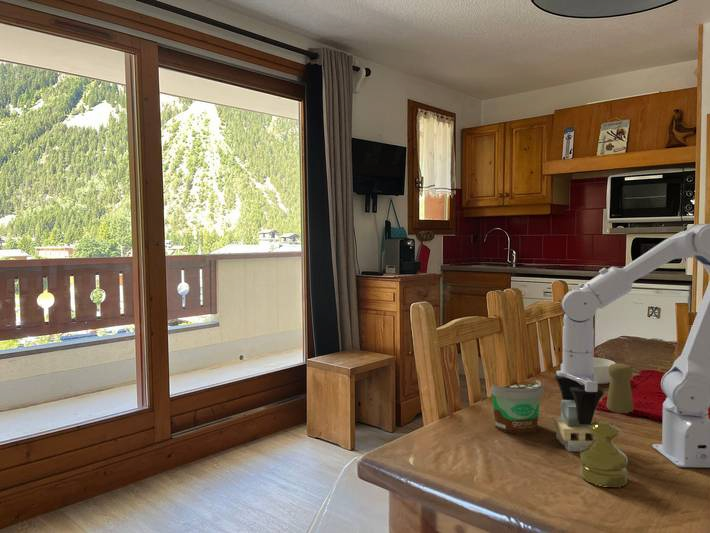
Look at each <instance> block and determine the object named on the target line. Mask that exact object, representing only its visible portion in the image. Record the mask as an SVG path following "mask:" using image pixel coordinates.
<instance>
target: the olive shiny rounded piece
mask: <svg viewBox="0 0 710 533" xmlns="http://www.w3.org/2000/svg"><path fill="white" fill-rule="evenodd" d="M588 430H589V431H590V432H591V433H592V434H593V435H594V436H595V440H594V441H593V442H592V443H590V444H589V445H588V446H585V447H584V448H582V449H581V451H579V455H580V459H581V461H580V463H579V466H580V470H579V471H580V476H581V478H582V479H583V480H584V479H585V480H586V482H587V481H589V482H591V483H593V484H597V485H601V486H607V487H619V488H622V487H621V486H623V487H624V485H625V486H626V485H627V484H626V483H628V469H627V468H626V467H627V466H628V462H629V460H628V456H627V454H625V453H624V452H623V451H622V450H620V448H618V446H616V445H615V443H613V440H614V438H616V437H618V436H619V435H620V433H621V431H620V428H618V426H615V425H614V424H612V423H610V422H609V421H606V420H598V421H594V422H593V423H592V424H590V425H588ZM585 480H584V481H585ZM589 482H588V483H589ZM591 483H590V484H591ZM593 484H592V485H593Z"/></svg>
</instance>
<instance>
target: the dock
mask: <svg viewBox="0 0 710 533" xmlns="http://www.w3.org/2000/svg"><path fill="white" fill-rule="evenodd" d="M555 432H556V431H555ZM555 436H556V439H557V440H558V442H559V443H560V444H561V445H562V444H563V445H564V446H565V447H564V446H563V445H562V446H563V447H564V448H565V450H567V452H580V451H581V449H582V448H584V447H585V446H588V445H589V444H590V443H592V442H593V440H592V439H591V438H590V437H589V436H588V435H587V434H586V433H585V441H579V440H578V439H577V438H576V437H575V436H574V435H573V434H572V433H571V441H564V440H563V439H562V438H561V436H560V435H559V434H558V433H557V432H556V434H555Z"/></svg>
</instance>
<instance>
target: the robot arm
mask: <svg viewBox="0 0 710 533" xmlns="http://www.w3.org/2000/svg"><path fill="white" fill-rule="evenodd" d="M691 258H694V259H695V260H697V261H698V262H699V263H700V264H701V265H702V267H703V268H704V270H705V271H706V272H707V274H708V275H709V276H710V223H706V224H705V223H697V224H693V225H691V226H689V227H688V228H687V229H686V230H683V231H680V232H677V233H675V234H674V235H671V236H669V237H668V238H666V239H664V240H662V241H661V242H659V243H658V244H656V245H655V246H653V247H652V248H650V249H649V250H648V251H646V252H644V253H643V254H642V255H640V256H639V257H637V258H636V259H634V260H632V261H631V262H630V263H628V264H626V265H625V266H624V267H622V268H621V267H616V266H611V267H608V268H607V267H603V268H601V269H600V270H598V273H599V274H598V275H596V276H595V277H593V278H592V279H590V280H588V281H586V282H585V283H584V282H581V283H579V284H578V285H577V287H578V288H579V289H573V290H570V291H568V292H567V293H566V294H565V295H564V296H563V298H562V301H561V308H562V310H563V312H564V314H563V319H562V320H563V321H562V323H563V326H562V363H560V370H556V371H555V372H556V375H555V376H554V379H555V381H556V382H557V386H558V387H559V390H560V392H561V398H562V399H561V400H575V404H576V410H577V418H578V422H579V424H591V422H593V417H594V414H595V410H596V408H597V405H598V403H599V402H600V401H601V398H602V397H604V391H603V390H602V389H600V388H598V385H599V384H598V382H597V381H596V380H595V373H594V372H593V367H594V358H595V356H594V354H595V353H594V352H595V351H594V350H595V349H594V345H595V344H594V343H595V341H594V340H595V339H594V338H595V329H594V322H593V321H594V319H593V318H594V316H595V315H596V312H597V311H598V310H597V309H604V308H605V307H607V306H608V305H610V304H612V303H614V302H615V301H616V300H618V299H620V298H621V297H624V296H625V295H627V294H629V293H630V292H631V291H632V286H633V283H634V282H635V281H636V280H639V279H640V278H642V277H644V276H646V275H648V274H650V273H651V272H653V271H655V270H656V269H658V268H660V267H662V266H664V265H665V264H667V263H670V262H671V261H672V260H673V261H674V260H676V259H677V260H680V259H691ZM660 388H661V390H662V392H663V394H665V396H666V397H665V400H664V401H663V402H662V430H661V431H662V436H661V437H662V440H661V443H660V444H659V443H657V444H656V443H653V444H652V447H653V448H654V449H655V450H656V451H658V452H659V453H660V454H661V455H663V456H664V457H665V458H666V459H667V460H668V461H671V462H672V463H673V464H674V465H675V466H677V467H679V468H710V418H709V408H710V280H709V281H708V284H707V287H706V289H705V292H704V294H703V297H702V299H701V302H700V305H699V308H698V310H697V313H696V315H695V318H694V320H693V323H692V326H691V328H690V331H689V333H688V335H687V339H686V342H685V345H684V347H683V349H682V352H681V355H679V356H678V357H677V358H676V359H675V360H674V362H673V364H672V366H671V368H670V369H669V370H668V371H666V372H665V374H663V375H662V378H661V381H660Z"/></svg>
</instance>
